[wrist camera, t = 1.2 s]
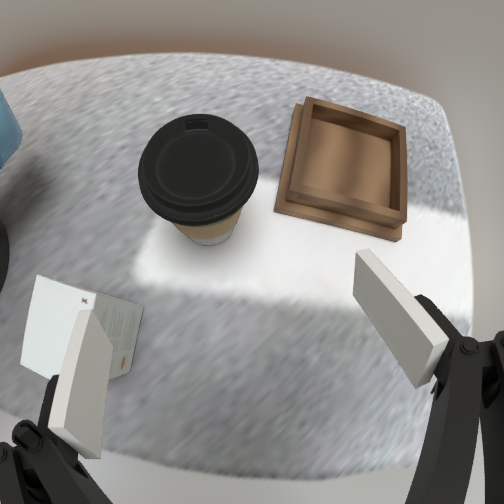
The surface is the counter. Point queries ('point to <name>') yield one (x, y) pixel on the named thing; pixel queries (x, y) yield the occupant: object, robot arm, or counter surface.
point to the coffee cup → (199, 175)
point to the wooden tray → (345, 170)
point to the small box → (62, 322)
